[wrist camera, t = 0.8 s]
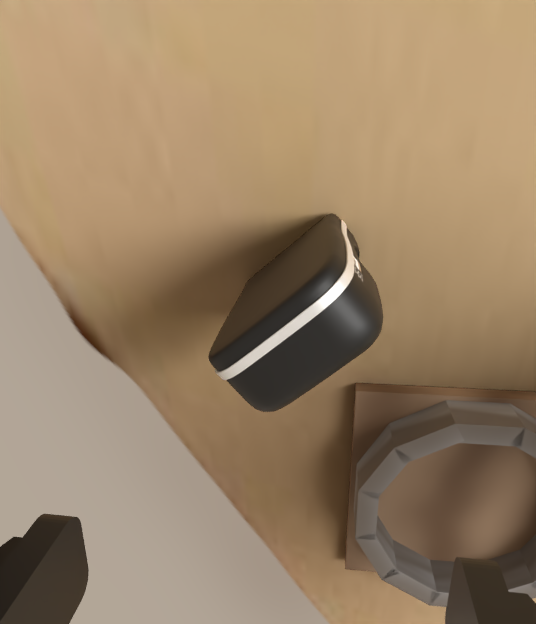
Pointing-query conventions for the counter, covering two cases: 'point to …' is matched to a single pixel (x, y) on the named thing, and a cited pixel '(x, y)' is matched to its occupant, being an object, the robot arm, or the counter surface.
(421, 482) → the ring collar
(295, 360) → the battery charger
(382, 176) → the counter surface
